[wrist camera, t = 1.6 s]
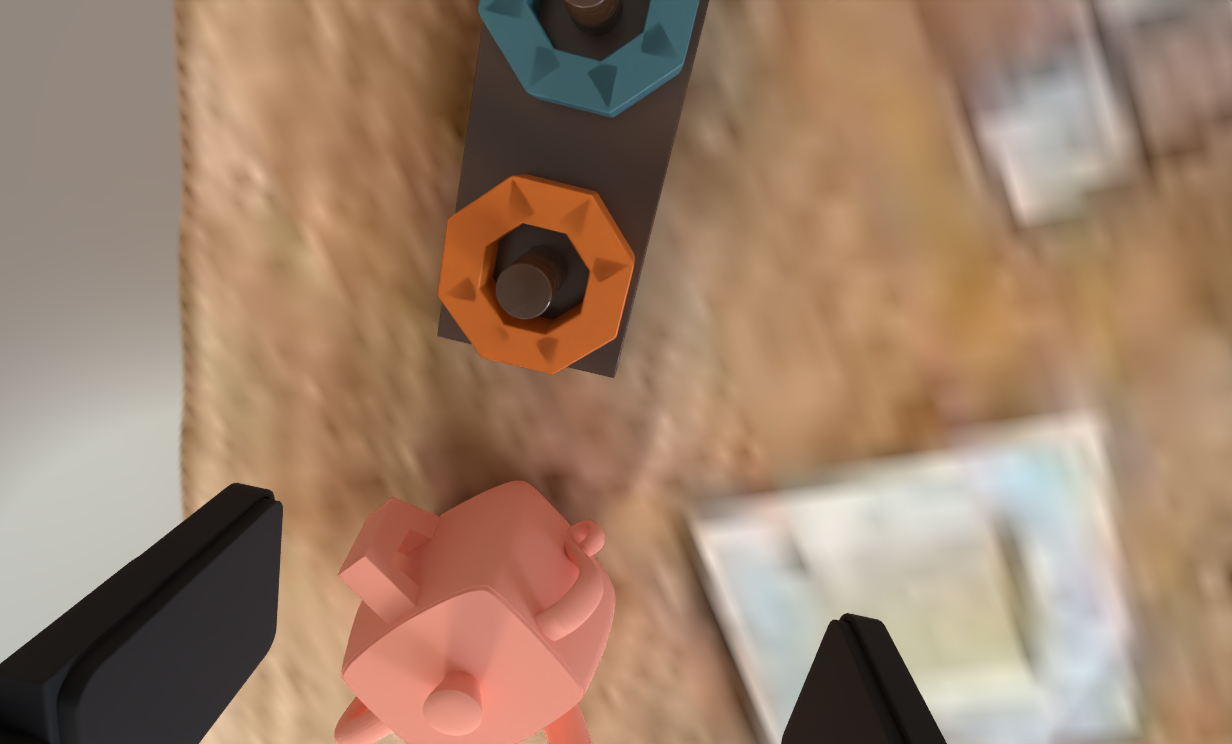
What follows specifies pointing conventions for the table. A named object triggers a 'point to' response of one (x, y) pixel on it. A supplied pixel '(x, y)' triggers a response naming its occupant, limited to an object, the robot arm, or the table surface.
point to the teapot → (474, 622)
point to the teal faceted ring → (587, 80)
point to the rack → (569, 162)
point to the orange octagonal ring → (474, 287)
